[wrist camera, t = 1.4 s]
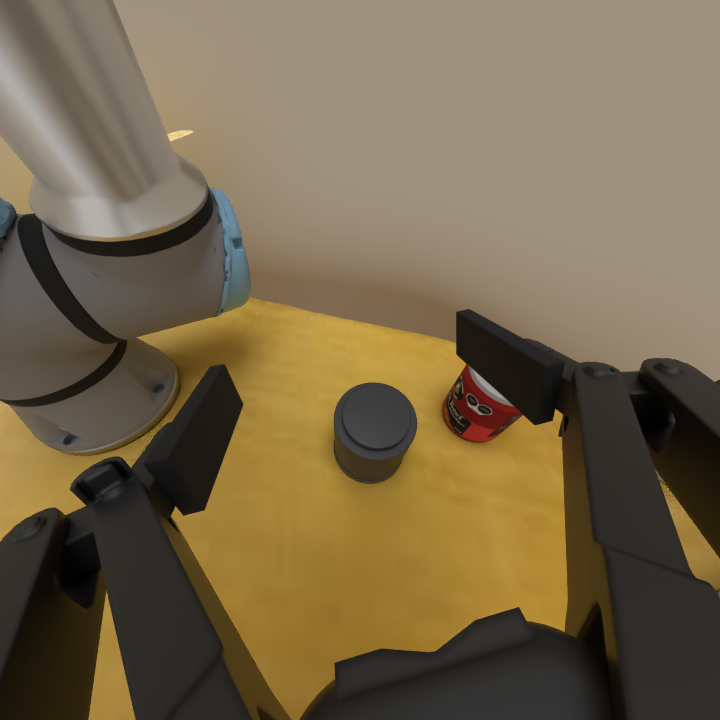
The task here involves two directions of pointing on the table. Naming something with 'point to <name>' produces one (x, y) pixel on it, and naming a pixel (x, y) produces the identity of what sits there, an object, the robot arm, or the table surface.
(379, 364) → the table surface
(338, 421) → the cap
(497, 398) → the canned food
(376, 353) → the table surface
